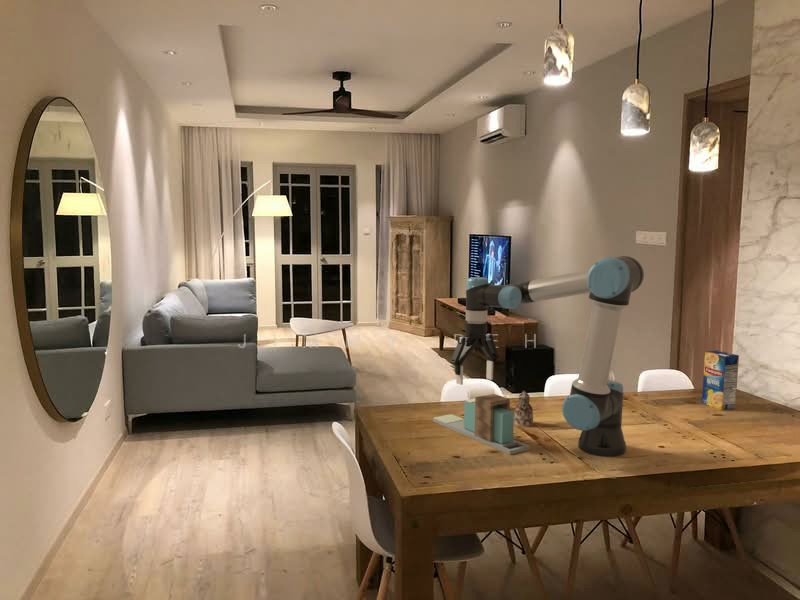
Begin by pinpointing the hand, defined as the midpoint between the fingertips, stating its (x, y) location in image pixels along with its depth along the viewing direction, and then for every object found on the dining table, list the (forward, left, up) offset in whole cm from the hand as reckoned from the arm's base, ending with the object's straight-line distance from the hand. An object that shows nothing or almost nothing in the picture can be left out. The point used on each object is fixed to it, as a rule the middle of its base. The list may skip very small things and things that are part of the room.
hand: (474, 381), depth 234 cm
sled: (-8, 0, -17) cm, 19 cm away
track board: (-3, 0, -19) cm, 19 cm away
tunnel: (-10, 0, -17) cm, 20 cm away
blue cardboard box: (-27, -107, -19) cm, 112 cm away
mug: (+24, -23, -19) cm, 39 cm away
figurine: (-2, -22, -19) cm, 29 cm away
